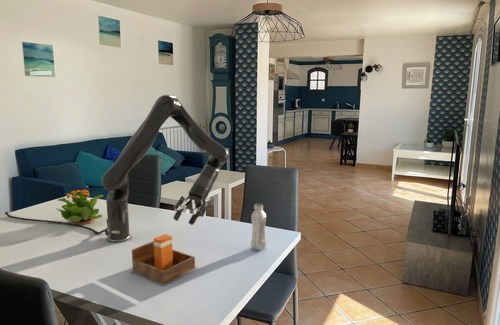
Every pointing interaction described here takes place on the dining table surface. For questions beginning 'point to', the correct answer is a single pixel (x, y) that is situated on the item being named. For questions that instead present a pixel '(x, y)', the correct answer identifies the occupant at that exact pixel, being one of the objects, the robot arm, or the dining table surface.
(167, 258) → the packet
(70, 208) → the potted flower
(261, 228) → the plastic bottle
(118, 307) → the dining table surface
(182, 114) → the robot arm
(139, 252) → the drawer
